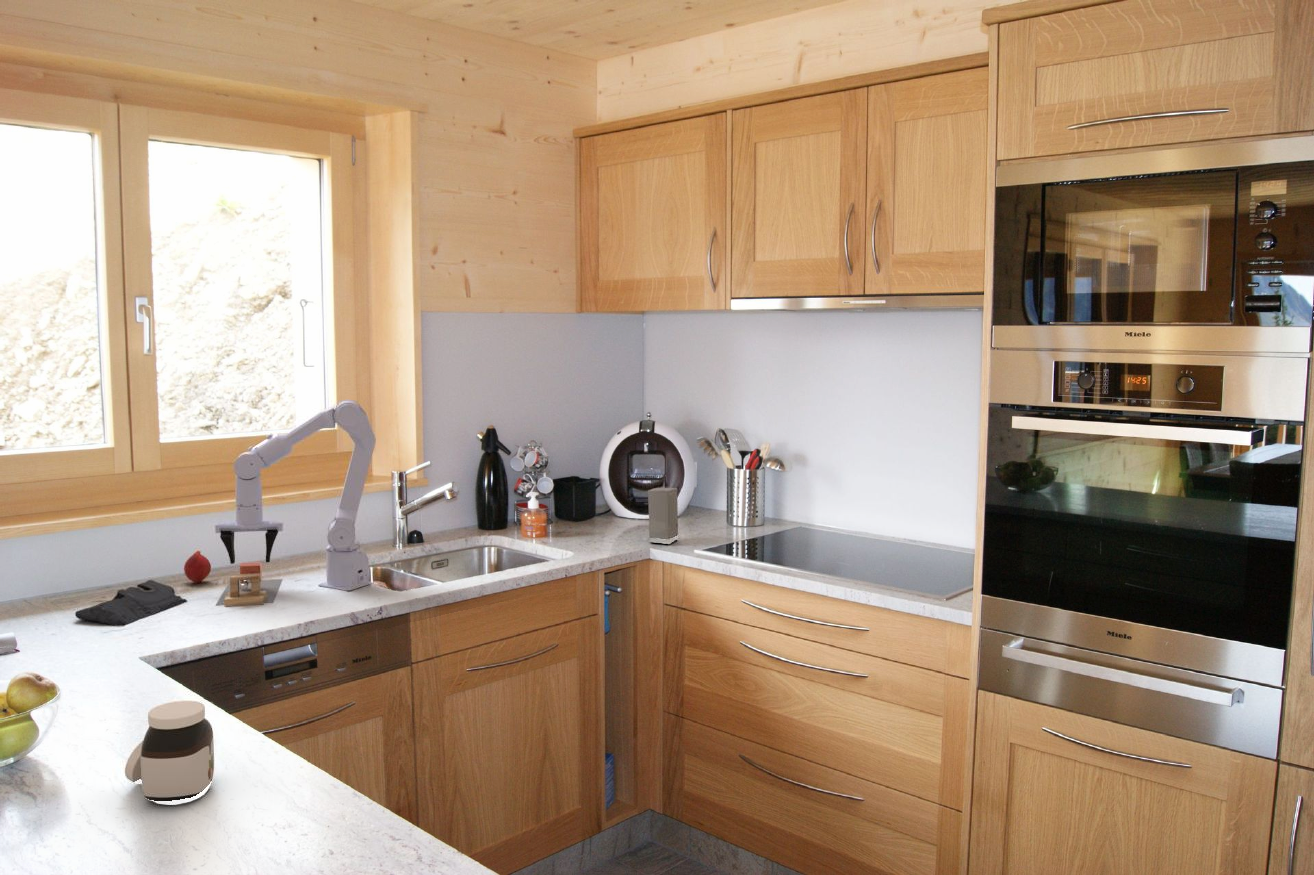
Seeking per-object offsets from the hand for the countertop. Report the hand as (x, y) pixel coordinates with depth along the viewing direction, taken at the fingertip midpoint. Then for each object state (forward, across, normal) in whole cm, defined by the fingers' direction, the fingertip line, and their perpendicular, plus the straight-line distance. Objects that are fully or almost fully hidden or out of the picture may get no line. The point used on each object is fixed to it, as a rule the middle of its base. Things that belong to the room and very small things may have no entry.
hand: (250, 562), depth 242 cm
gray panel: (+7, 0, -2) cm, 7 cm away
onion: (+7, -13, +9) cm, 17 cm away
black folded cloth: (+8, -23, -13) cm, 27 cm away
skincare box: (+6, +108, +34) cm, 114 cm away
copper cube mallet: (+4, 0, -6) cm, 8 cm away
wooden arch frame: (+6, 0, -11) cm, 13 cm away
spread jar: (+7, +2, -108) cm, 108 cm away
